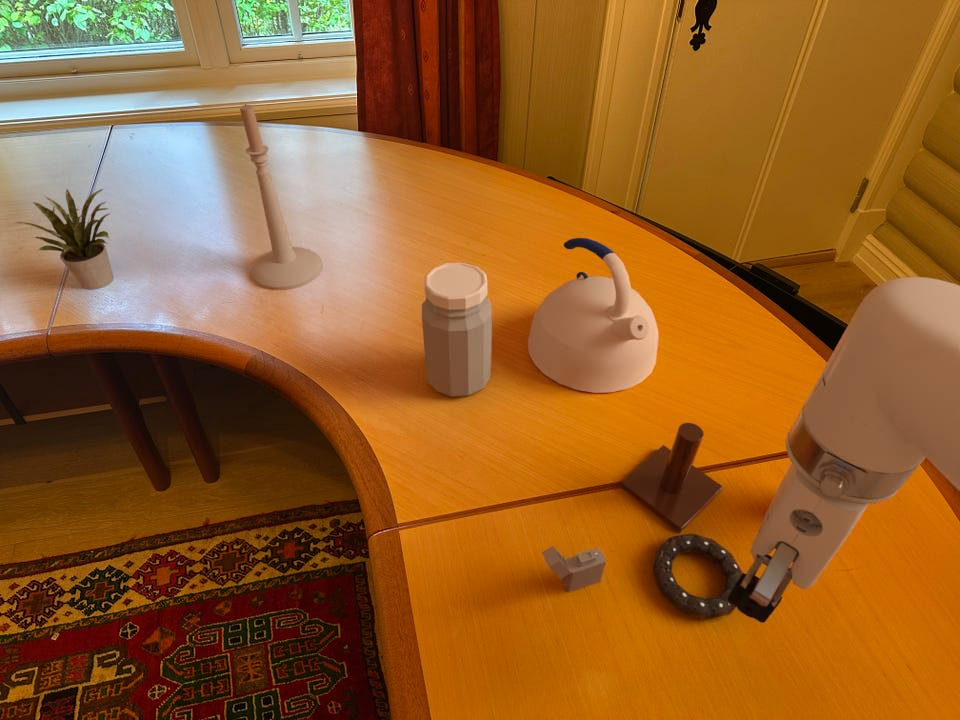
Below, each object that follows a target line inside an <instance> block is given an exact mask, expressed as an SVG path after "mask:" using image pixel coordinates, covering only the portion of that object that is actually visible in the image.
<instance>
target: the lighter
mask: <svg viewBox="0 0 960 720" xmlns="http://www.w3.org/2000/svg"><path fill="white" fill-rule="evenodd" d="M541 555H542V557H543V558H544V561H545V563H546V565H547V567H548V568H549V570H551V571H552V572H553V573H554V574H555V575H556V576H557V578H559V579H561V581H562V583H563V586H564V588H565V590H566V592H567V593H571V592H574V591H577V590H580V589H583V588H586V587H588V586H589V587H590V586H591V585H594V584H597V583H601V581H602V577H603V574H604V571H605V566H606V563H607V559H606V557H605V554H604V553H603V551H602V549H601V548H600V547H597V548H594V549H592V548H590V549H587V550H584V551H581V552H578V553H576V555H573V556H569V557H567V558H565V557H564V556H563V555H562V554H561V552H559V551H558V550H557V548H556V547H555V546H554V545H552V546H550V547H549V548H547V549H546V550H544V551H542V552H541Z"/></svg>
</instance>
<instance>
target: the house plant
mask: <svg viewBox="0 0 960 720" xmlns="http://www.w3.org/2000/svg"><path fill="white" fill-rule="evenodd" d="M103 190H104V188H102V189H99V190H97V191H94V192H93V193H92V194H90V195H89V196H88V197H87V199H86V200H85V201H84V204H83V207H82V208H81V209H82V210H81V215H80V216H79V215H78V211H79V208H77V207H76V202H75V200H74V199H73V196H72V195H71V192H70V190H69V189H68V188H67V189H66V191H65V199H66V205H67V209H68V213H67V212H66V211H65V209H64V208H63V207H62V206H61V205H60V204H59V203H58V202H56V201H55V200H53V199H52V198H50V197H48V196H45V199H47V200H48V201H49V202H48V201H47V203H49V204H50V205H52V206H53V208H52V209H49V208H48V207H47V206H46V207H45V206H44V205H42V204H41V203H38V202H34V201H32V202H33V205H35V207H36V208H37V209H39V211H40V212H41V213H42V214H43V215H44V216H45V217H46V218H47V219H48V221H49V222H50V223H51V226H52V228H53V229H54V231H53V230H52V229H48V228H46V227H43V226H41V225H38V224H35V223H31V222H25V221H18V222H16V224H23V225H26V226H32V227H35V228H37V229H40V230H42V231H45V232H47V233H49V234H50V235H52V236H53V237H56V238H57V239H60V240H61V241H63V242H61V241H59V240H57V239H56V240H55V239H52V238H48V237H43V236H35V239H38V240H41V241H43V242H44V243H47V244H48V245H43V246H41V247H40V248H38V249H37V251H57V252H61V253H60V255H59V256H60V257H59V258H60V260H61V262H62V263H63V264H64V265H65V266H66V268H67V269H68V270H69V271H70V273H71V274H72V275H73V277H74V278H75V279H76V280H77V281H78V283H79V284H80V286H82V288H84V289H86V290H97V289H101V288H104V287H107V286H109V285H110V284H112V282H114V279H115V277H114V273H113V270H112V266H111V262H110V258H109V255H108V251H107V247H106V244H107V245H108V243H107V242H106V240H105V239H103V238H107V239H110V238H109V232H107V231H105V230H102V231H100V232H98V231H99V228H100V226H101V224H102V223H103V222H104V219H105V218H106V217H107V216H109V215H110V214H111V213H110V212H109V213H107V214H105V215H103V216H101V217H100V218H99V219H95V216H96V214H97V213H98V212H100V211H105V210H106V211H107V210H109V208H106V207H102V208H101V206H102V205H104V204H106V203H107V202H108V201H103V202H101V203H99V204H97V205H96V206H95V208H94V209H93V210H92V212H91V214H90V215H89V216H90V217H89V218H88V221H87V224H86V220H87V219H86V218H87V213H88V211H89V208H90V205H91V204H92V201H93V200H94V198H95V197H96V196H97V195H98V194H99V193H101V192H102V191H103ZM55 209H57V211H58V212H59V214H61V216H62V217H63V219H64V221H65V223H64V221H62V219H61V218H60V217H59V216H58V215H57V214H56V213H55V212H56V211H55ZM94 225H95V226H94ZM93 226H94V229H93ZM92 229H93V230H92ZM92 231H93V233H92ZM96 238H97V239H96Z"/></svg>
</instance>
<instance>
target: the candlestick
mask: <svg viewBox="0 0 960 720" xmlns="http://www.w3.org/2000/svg"><path fill="white" fill-rule="evenodd" d="M254 108H255V107H254V106H253V105H252V104H247V103H244V105H241V106H239V111H240V115H241V118H242V122H243V125H244V126H243V127H244V130H245V135H246V138H247V142H248V145H249V147H247V148H246V149H245V153H246V154H248V155H249V156H250V161H251V162H252V163H253V164H254V166H255V167H256V172H255V174H256V176H257V183H258V187H259V191H260V197H261V201H262V205H263V210H264V216H265V220H266V225H267V230H268V231H267V232H268V236H269V240H270V246H271V250H270V251H268V252H266V253H264V254H263V255H261V256H259V258H258V259H257V260H255V262H254V263H253V264H252V265H251V268H250V275H251V279H252V281H253V282H254V283H255V284H256V285H257V286H259V287H262V288H264V289H267V290H274V291H285V290H291V289H297V288H299V287H303V286H306V285H307V284H310V283H311V282H313V281H314V280H315V279H317V277H319V276H320V274H321V272H322V270H323V269H324V268H323V266H324V264H323V259H322V257H321V256H320V255H319V254H318V253H316V252H315V251H313V250H311V249H308V248H305V247H300V246H299V247H298V246H293V245H292V243H291V239H290V236H289V233H288V229H287V226H286V223H285V220H284V216H283V213H282V210H281V206H280V203H279V200H278V197H277V192H276V190H275V186H274V184H273V180H272V176H271V174H270V169H268V167H267V163H268V162H267V161H268V160H269V157H268V155H267V152H268V151H269V150H270V148H269V146H267V145H265V144H263V140H262V137H261V133H260V128H259V125H258V120H257V116H256V112H255V109H254Z"/></svg>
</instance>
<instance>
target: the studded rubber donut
mask: <svg viewBox="0 0 960 720" xmlns="http://www.w3.org/2000/svg"><path fill="white" fill-rule="evenodd" d="M687 553H695V554H698V555H702V556H705V557H706V558H708V559H709V560H710V561H711V562H713V563H714V564H715V565H717V567H718V569H719V570H720V571H719V572H721V575H722V576H723V588H722V590H720V592H719V593H718V594H717V595H715V596H711V597H707V598H704V597H700V596H697V595H694V594H690V593H689V592H688V591H686V590H685V589H684V588H683V587H682V586H681V585H680V584H679V583H678V582H677V580H676V578H675V576H674V573H673V562H674V560H675V559H677V557H678V556H679V555H682V554H687ZM653 558H654V559H653V565H652V576H653V578H654V581H655V582H656V585H657V587H658V589H659V591H660V593H661V595H662V597H664V599H666V600H667V601H668V602H669V603H670V604H672V605H673V606H674V607H675V608H676V609H677V610H678V611H680V612H682V613H683V614H687V615H690V616H693V617H696V618H700V619H702V620H711V619H712V620H713V619H717V618H721V617H724V616H725V617H727V616H728V615H729V616H730V615H731V614H732V613H733V612H734V610H735V609H736V608H737V607H736V606H735V605H733V604H732V603H730V602H729V601H728V599H727V598H728V596H729V594H730V592H731V591H732V589H733V588H734V586H735V584H736V583H737V581H738V580H739V578H740V577H741V575H742V573H744V571H742V569H741V567H740V565H739V563H738V562H737V560H736V558H735V556H734V555H733V553H732V552H731V551H729V550H727V549H726V548H725V547H724V546H722V544H720V543H718V542H717V541H716V540H715V539H713V538H710V537H706V536H702V535H699V534H696V533H691V532H689V533H683V534H679V535H673V536H670V537H668V538H667V539H665V541H664V542H663V543H662V544H661V545H660V546H659V547H658V548H657V549H656V550H655V552H654V556H653Z"/></svg>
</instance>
